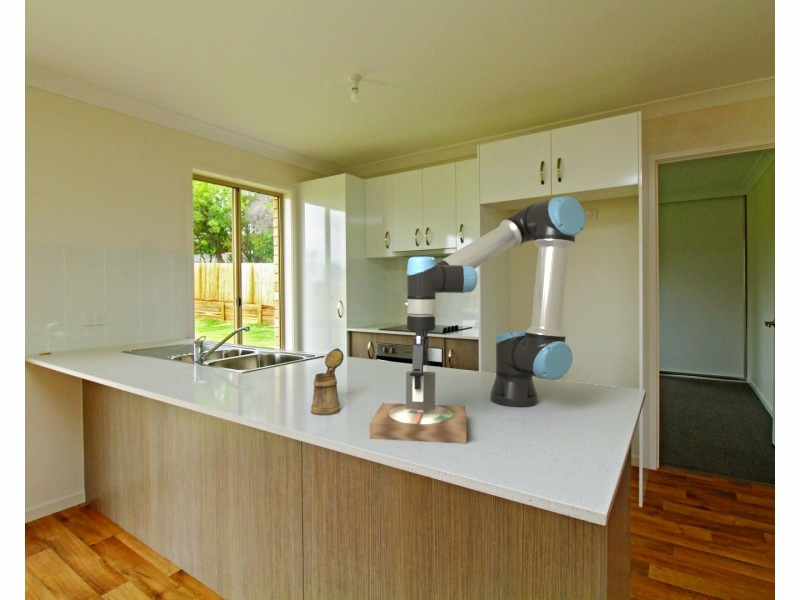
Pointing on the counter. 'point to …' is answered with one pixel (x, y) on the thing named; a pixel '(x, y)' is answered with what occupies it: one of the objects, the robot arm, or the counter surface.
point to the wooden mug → (327, 386)
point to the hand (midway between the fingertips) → (420, 394)
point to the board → (419, 424)
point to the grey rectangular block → (427, 394)
